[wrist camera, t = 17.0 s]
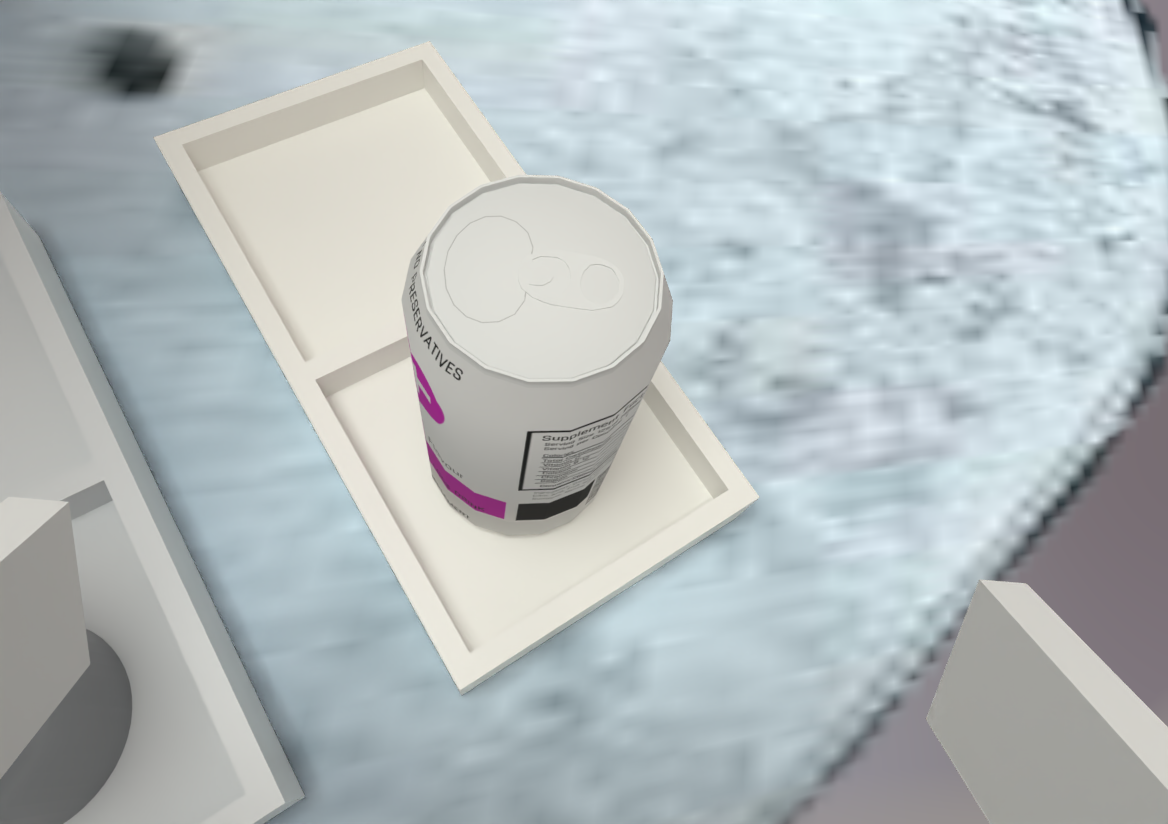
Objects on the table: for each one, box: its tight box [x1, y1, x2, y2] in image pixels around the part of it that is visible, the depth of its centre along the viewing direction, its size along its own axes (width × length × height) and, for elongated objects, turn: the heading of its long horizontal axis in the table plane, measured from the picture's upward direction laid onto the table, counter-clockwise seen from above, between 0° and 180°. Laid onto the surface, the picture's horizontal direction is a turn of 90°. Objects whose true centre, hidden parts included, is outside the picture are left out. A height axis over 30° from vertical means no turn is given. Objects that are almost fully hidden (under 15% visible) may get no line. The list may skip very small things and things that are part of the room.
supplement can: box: [401, 175, 673, 535], centre depth 29 cm, size 8×8×15 cm
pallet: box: [153, 41, 759, 696], centre depth 38 cm, size 30×15×4 cm, turn 33°
